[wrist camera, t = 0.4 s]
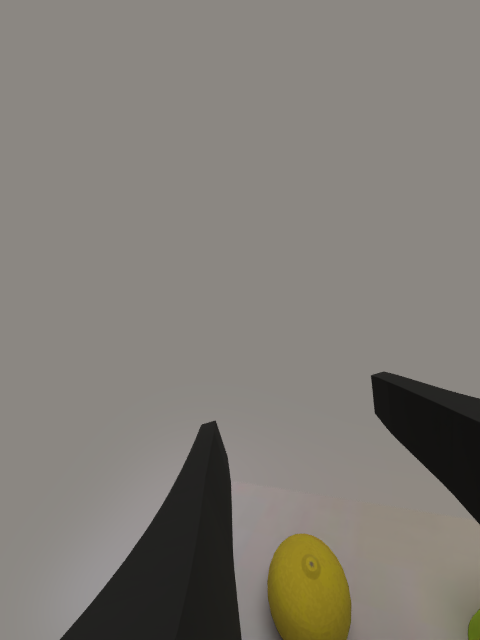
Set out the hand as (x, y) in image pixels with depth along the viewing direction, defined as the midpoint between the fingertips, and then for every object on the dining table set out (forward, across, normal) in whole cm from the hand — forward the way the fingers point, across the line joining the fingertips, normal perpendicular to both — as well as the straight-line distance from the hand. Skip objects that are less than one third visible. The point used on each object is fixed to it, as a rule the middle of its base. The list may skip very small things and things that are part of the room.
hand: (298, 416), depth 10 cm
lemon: (+2, +2, +20) cm, 20 cm away
